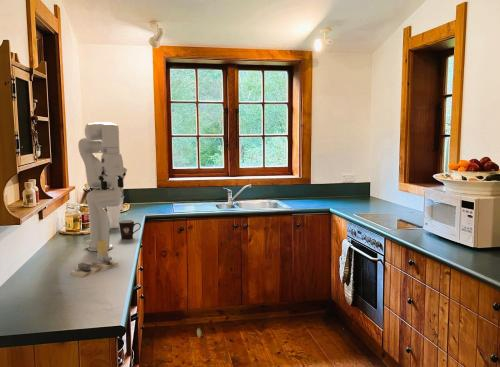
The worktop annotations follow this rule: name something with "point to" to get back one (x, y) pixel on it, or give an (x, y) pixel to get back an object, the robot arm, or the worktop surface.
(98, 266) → the board
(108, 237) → the robot arm
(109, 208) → the cup
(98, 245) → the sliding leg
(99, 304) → the worktop surface
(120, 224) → the coffee mug
